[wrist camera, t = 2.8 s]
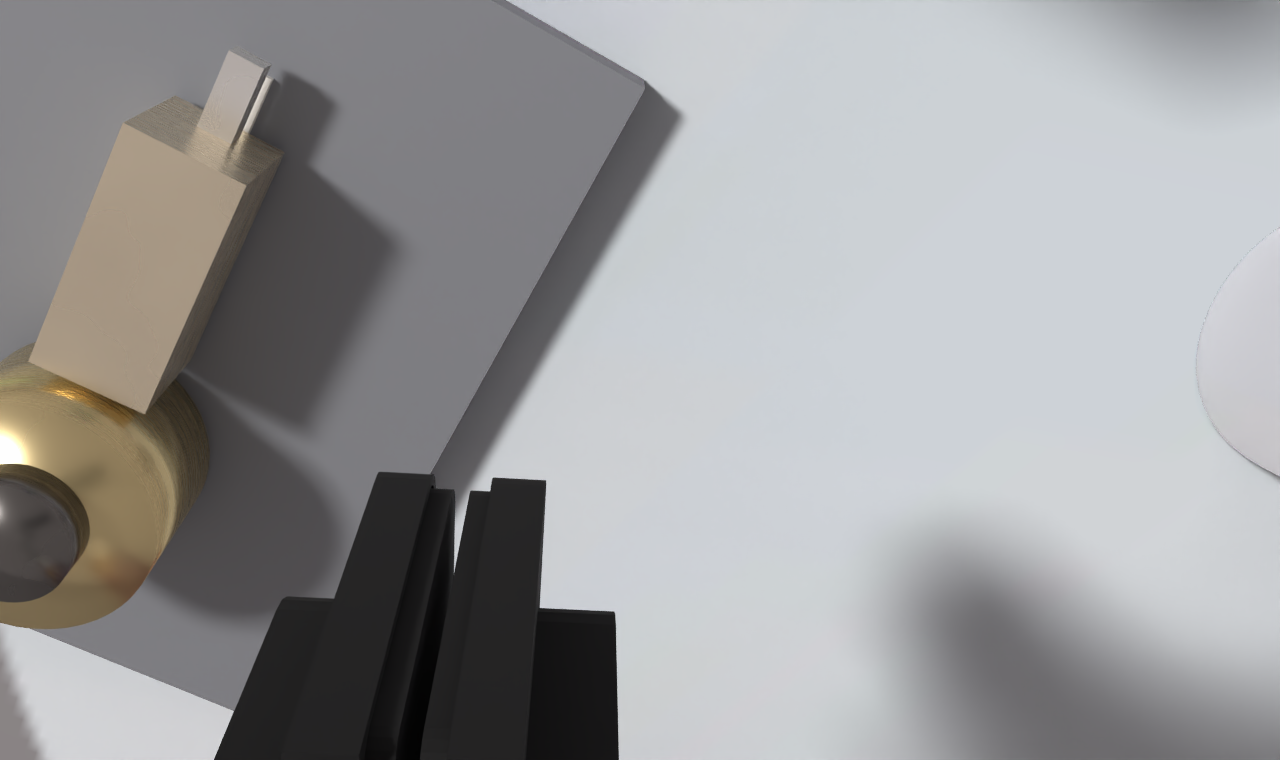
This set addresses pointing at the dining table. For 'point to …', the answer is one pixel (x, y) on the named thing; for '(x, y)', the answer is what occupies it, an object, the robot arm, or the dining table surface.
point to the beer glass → (1245, 356)
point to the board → (307, 262)
